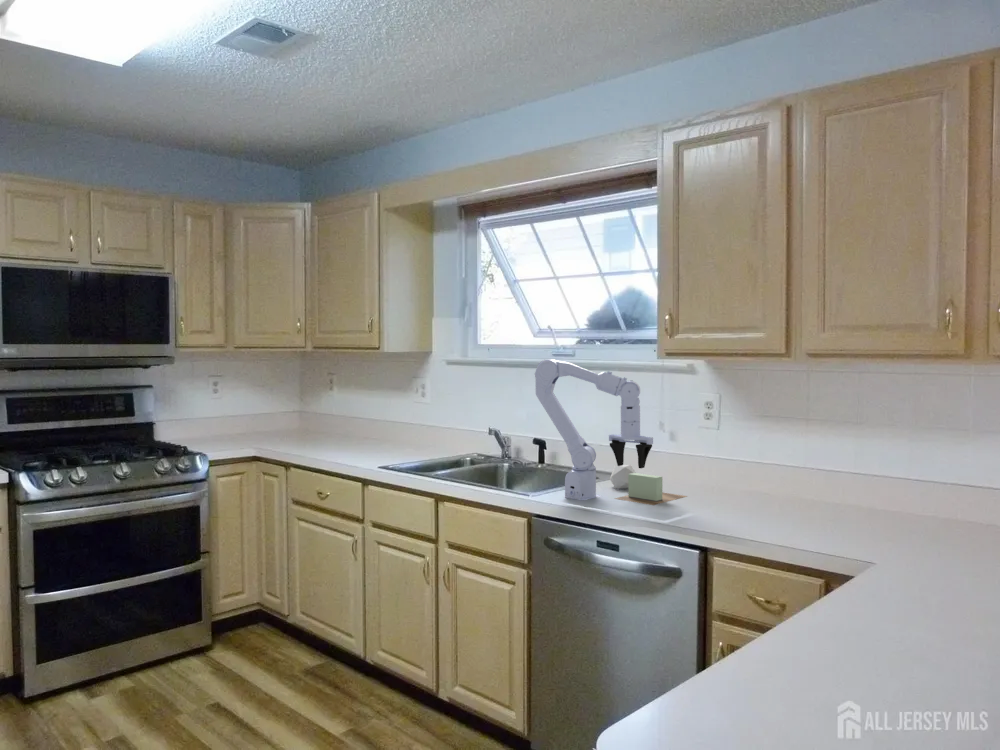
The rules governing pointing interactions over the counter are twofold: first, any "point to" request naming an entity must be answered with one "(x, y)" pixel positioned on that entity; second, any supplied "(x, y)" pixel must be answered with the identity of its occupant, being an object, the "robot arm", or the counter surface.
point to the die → (621, 476)
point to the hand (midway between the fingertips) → (630, 466)
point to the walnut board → (665, 498)
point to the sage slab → (645, 487)
